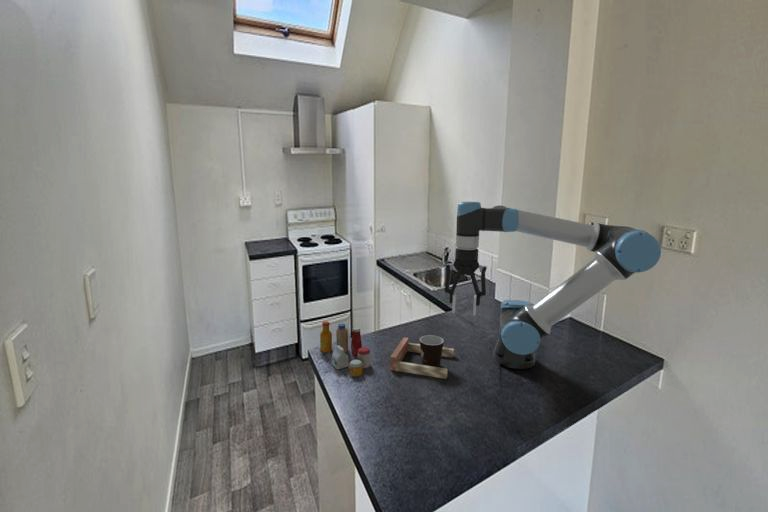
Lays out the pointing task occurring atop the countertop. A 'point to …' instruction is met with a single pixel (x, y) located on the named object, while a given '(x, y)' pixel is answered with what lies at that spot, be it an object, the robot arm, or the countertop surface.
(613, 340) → the countertop surface
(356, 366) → the toy food set
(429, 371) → the u-shaped wooden frame
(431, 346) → the dark brown cup
